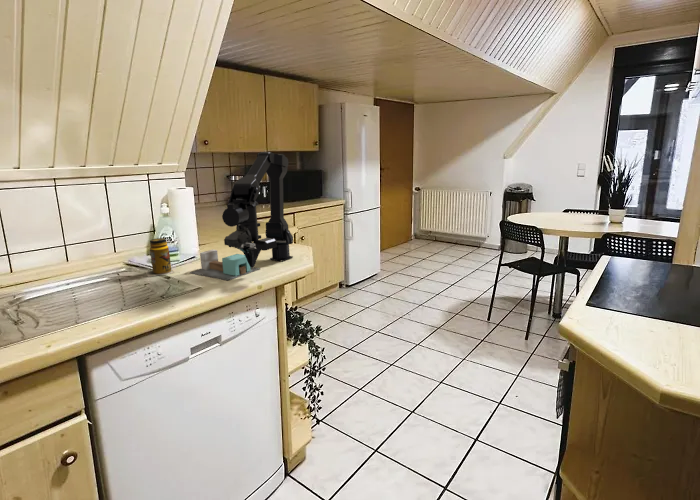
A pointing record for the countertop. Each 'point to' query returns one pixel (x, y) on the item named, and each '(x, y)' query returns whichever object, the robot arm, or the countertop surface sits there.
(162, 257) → the condiment
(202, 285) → the countertop surface
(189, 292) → the countertop surface
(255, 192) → the robot arm
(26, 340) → the countertop surface
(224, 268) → the block
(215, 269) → the rail track
